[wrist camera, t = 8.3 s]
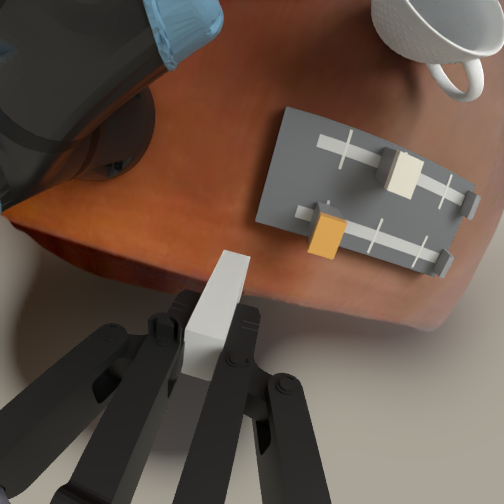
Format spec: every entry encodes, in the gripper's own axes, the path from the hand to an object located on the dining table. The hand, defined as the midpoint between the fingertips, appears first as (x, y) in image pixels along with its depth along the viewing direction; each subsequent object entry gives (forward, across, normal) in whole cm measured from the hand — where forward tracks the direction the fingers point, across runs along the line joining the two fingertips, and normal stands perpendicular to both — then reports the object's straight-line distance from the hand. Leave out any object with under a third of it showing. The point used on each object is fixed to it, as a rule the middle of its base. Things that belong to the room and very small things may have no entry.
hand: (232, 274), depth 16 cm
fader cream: (+16, +12, +7) cm, 21 cm away
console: (+18, +12, +3) cm, 22 cm away
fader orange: (+16, +7, -1) cm, 18 cm away
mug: (+19, +11, +23) cm, 32 cm away
